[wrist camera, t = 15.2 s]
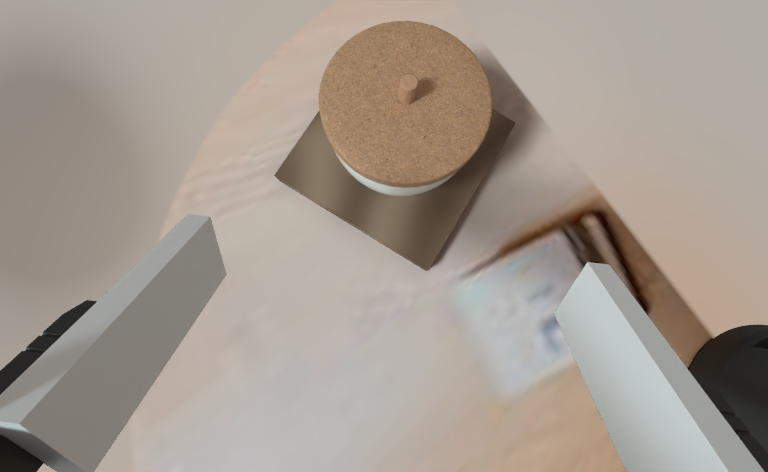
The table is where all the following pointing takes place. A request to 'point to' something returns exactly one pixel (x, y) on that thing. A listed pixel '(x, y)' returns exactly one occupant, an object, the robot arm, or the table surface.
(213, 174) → the table surface
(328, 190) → the brown metal plate
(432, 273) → the table surface
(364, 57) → the lidded jar
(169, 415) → the table surface
